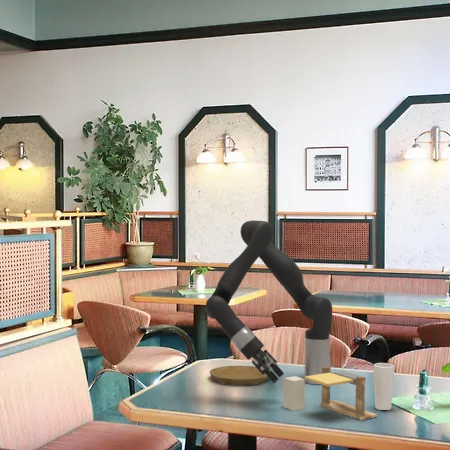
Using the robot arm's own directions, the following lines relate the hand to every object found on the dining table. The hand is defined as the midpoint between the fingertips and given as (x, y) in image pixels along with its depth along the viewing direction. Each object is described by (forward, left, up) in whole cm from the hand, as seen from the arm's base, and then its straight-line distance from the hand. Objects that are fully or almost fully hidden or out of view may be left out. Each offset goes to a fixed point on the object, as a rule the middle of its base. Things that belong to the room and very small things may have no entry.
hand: (279, 378), depth 245 cm
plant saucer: (-10, -38, -10) cm, 41 cm away
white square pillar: (-3, +4, -10) cm, 11 cm away
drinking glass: (-28, +21, -10) cm, 37 cm away
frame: (-16, +17, -10) cm, 25 cm away
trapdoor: (-10, +17, +1) cm, 20 cm away
